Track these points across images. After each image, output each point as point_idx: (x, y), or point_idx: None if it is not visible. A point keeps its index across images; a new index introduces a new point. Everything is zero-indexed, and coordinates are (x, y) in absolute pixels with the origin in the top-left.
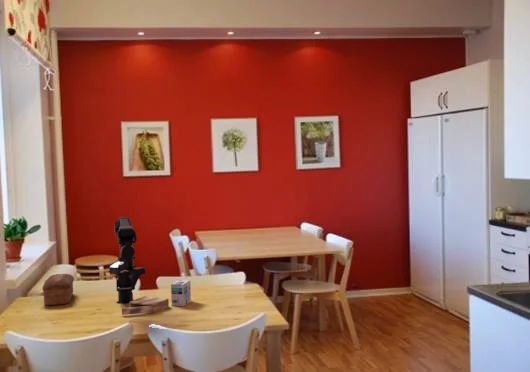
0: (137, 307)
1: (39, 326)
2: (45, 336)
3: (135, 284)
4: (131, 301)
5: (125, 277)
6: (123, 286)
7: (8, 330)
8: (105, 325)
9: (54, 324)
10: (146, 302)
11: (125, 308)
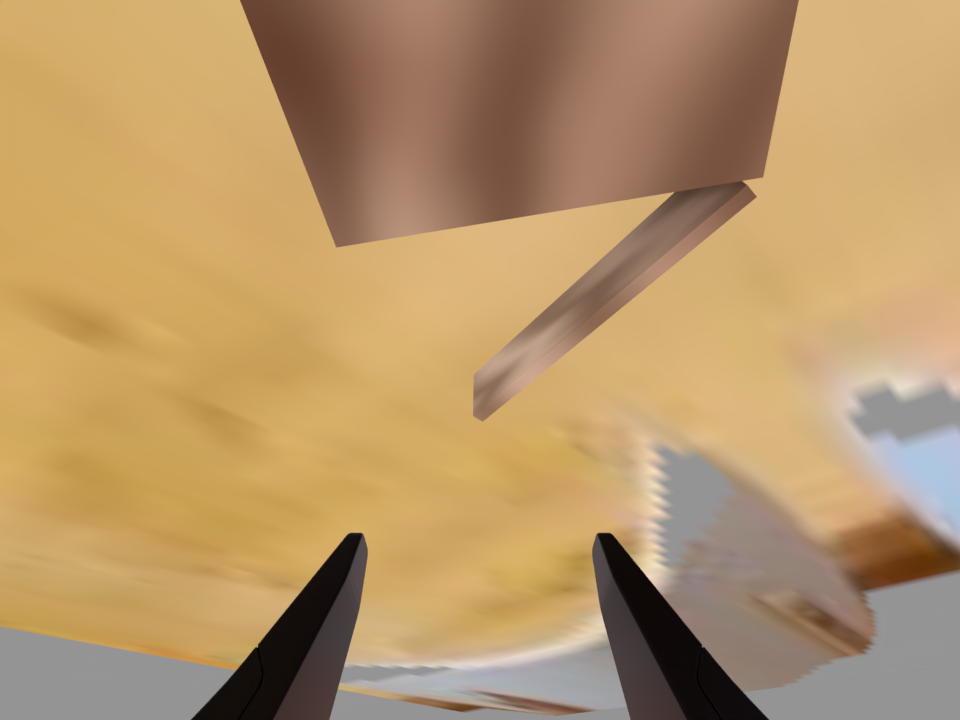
0: (595, 326)
1: None
2: (450, 651)
3: (659, 602)
4: (341, 217)
5: (280, 709)
6: (363, 555)
7: None
8: (557, 522)
9: None
10: (585, 143)
11: (506, 401)
